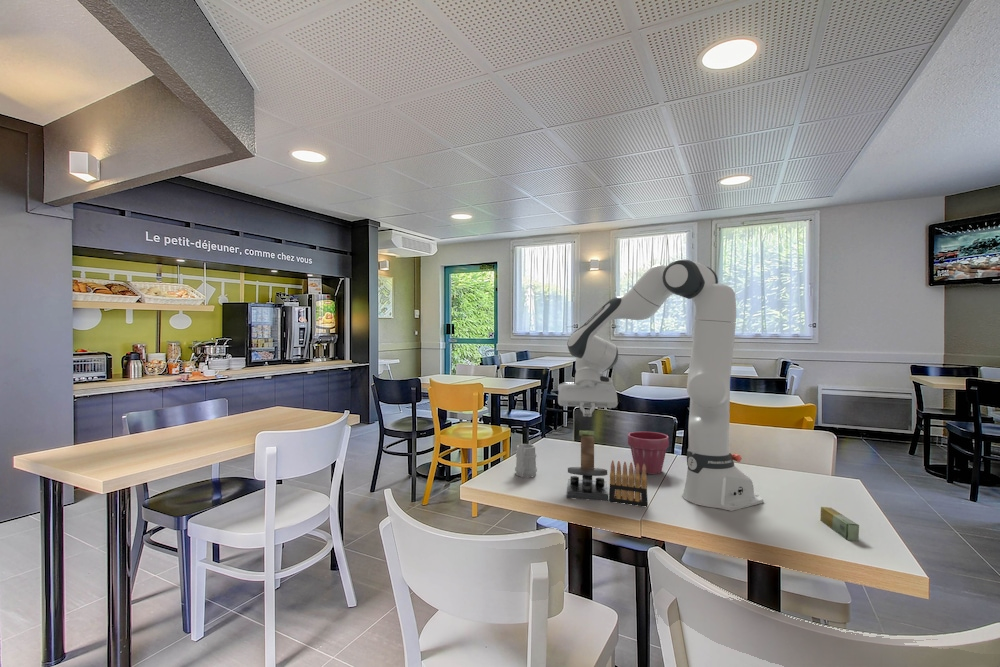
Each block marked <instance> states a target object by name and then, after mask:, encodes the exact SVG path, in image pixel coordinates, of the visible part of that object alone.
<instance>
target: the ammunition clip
mask: <svg viewBox="0 0 1000 667" xmlns="http://www.w3.org/2000/svg"><path fill="white" fill-rule="evenodd" d="M610 463H611V464H610V473H609V490H608V502H609V501H610V502H609V503H613V502H617V503H616V504H621V503H625V504H624V505H628V504H632V505H631V506H635V505H638V506H637V507H642V506H646V507H645V508H647V507H648V504H649V503H648V502H649V501H648V477H647V474H646V466H645V464H643V467H642V473H641V472H640V468H639V464H638V463H637V465H636V470H635V473H634V464H633V463H632V462H631V461H630V463H629V466H627V462H626V461H624V462H623V466H621V461H619V460H618V462H617V464H616V467H615V461H614V460H611V462H610ZM628 467H629V468H628Z"/></svg>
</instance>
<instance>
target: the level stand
mask: <svg viewBox="0 0 1000 667" xmlns="http://www.w3.org/2000/svg"><path fill="white" fill-rule="evenodd" d="M581 476H582V479H580V477H579V476H578V475H577V476H576V475H572V476H570V478H568V479H567V488H566V499H572V498H576V500H586V499H589V501H601V500H602V502H609V490H608V489H609V488H608V483H607V481H606V480H605V478H603V477H596V478H595V480H593V476H586V475H581Z"/></svg>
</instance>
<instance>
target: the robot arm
mask: <svg viewBox="0 0 1000 667" xmlns="http://www.w3.org/2000/svg"><path fill="white" fill-rule="evenodd" d="M672 295H676V296H679V297H682V298H685V299H688V300H690V299H691V300H692V301H693V302H694V305H695V315H694V325H693V333H692V334H693V335H692V336H693V337H692V345H691V352H690V357H689V358H690V359H689V366H688V374H687V380H686V392H687V395H688V397H689V399H690V400H689V413H688V414H689V415H688V448H687V450H686V465H687V472H686V478H685V485H684V488H683V492H682V496H681V497H682V498H684V499H685V500H687V501H688V502H690V503H693V504H695V505H700V506H703V507H708V508H715V509H721V510H726V511H736V510H741V509H744V508H748V507H752V506H754V505H755V506H756V505H759V504H762V503H764V498H763V497H762V496H760V495H759V494H757V493H756V492H755V490H754V488H755V487H754V483H753V480H752V479H751V478H750V477H749V475H747V474H745V473H744V472H743V471H742V470H740V469H739V468H738V467H737V466H736V465H735V462H737V463H739V462H741V461H742V456H741V455H740V454H736V453H733V454H732V453H731V452H730V418H731V417H730V413H731V412H730V411H731V410H730V408H731V407H730V406H731V404H730V402H731V398H730V396H731V395H730V394H731V389H730V388H731V374H732V366H733V365H732V364H733V354H734V347H735V346H734V345H735V336H736V335H735V333H736V325H737V324H736V322H737V302H736V301H737V299H736V293H735V291H734V289H733V288H732V287H730V286H729V285H727V284H723V283H719V277H718V275H717V274H716V272H715V271H714V270H713V269H712V268H710V267H709V266H706V265H704V264H702V263H700V262H699V261H694V260H689V259H686V258H685V259H684V258H683V259H676V260H673V261H671V262H670V263H669V264H668V265H663V264H655V265H652V266H651V267H650V268H649V269H648V270H646V272H645V273H643V274H642V275H641V277H640V278H639V279H638V280H637V281H636V282H635V283H634V285H633V286H632V287H631V289H629V290H628V291H627V292H624V294H622V295H620V296H614V297H612V298H610V299H609V300H608V301H607V302H606V303H605V304H603V305H602V306H601V307H600V308H599V309H598V310H597V311H596V312H595V313H594V314H593V315H592V316H591V317H590V318H589V319H588V320H587V321H586V322H585V323H584V324H583V325H582V326H580V327H579V328H577V329H576V330H574V331H573V332H572V333H571V335H570V336H569V337H568V340H567V350H568V352H569V353H570V355H571V356H572V357H575V362H574V363H575V369H574V370H575V374H574V382H565V381H564V382H562V383H559V384H558V385H557V392H558V393H557V394H558V395H557V404H558V405H559V406H560V407H579V409H580V412H582V417H589V418H590V417H592V416H593V414H592V413H594V411H595V409H596V408H604V409H605V408H607V409H610V408H611V409H614V408H616V407H618V394H617V390H616V387H615V386H614V382H613V379H612V377H609V376H605V375H603V374H601V373H604V372H607V371H608V370H610V369H612V368H613V367H614V366H615V365H617V362H618V359H619V350H618V347H617V345H616V344H614V343H613V342H611V341H608V340H607V339H604V338H603V337H600V336H598V335H596V334H597V333H598V332H599V331H600V330H602V328H603V327H604V326H606V325H607V324H608V323H610V321H614V320H620V319H621V320H622V319H623V320H633V321H642V320H646V319H649V318H651V317H652V316H654V315H655V314H656V313H657V312H658V310H660V309H661V307H662V306H663V304H664V303H665V302H666V300H667V299H668V298H669V297H670V296H672ZM585 408H590V409H585ZM734 461H735V462H734Z"/></svg>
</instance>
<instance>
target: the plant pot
mask: <svg viewBox="0 0 1000 667" xmlns="http://www.w3.org/2000/svg"><path fill="white" fill-rule="evenodd" d="M669 438H670V437H669V436H668V434H665V433H661V432H658V431H657V432H655V431H632V432H629V433H628V434H627V444H628V446H630V451H631V455H632V456H631V457H632V461H633V467H634V470H635V471H636V465H637V463H638V464H639V468H640V473H641V472H642V467H643V464H645V466H646V473H648V475H656V474H657V473H658V474H661V473H662V472H663V471H662V470H663V468H664V467H663V466H664V462H665V458H666V457H665V456H666V453H667V452H666V451H667V449H668V448H670V439H669Z"/></svg>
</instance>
